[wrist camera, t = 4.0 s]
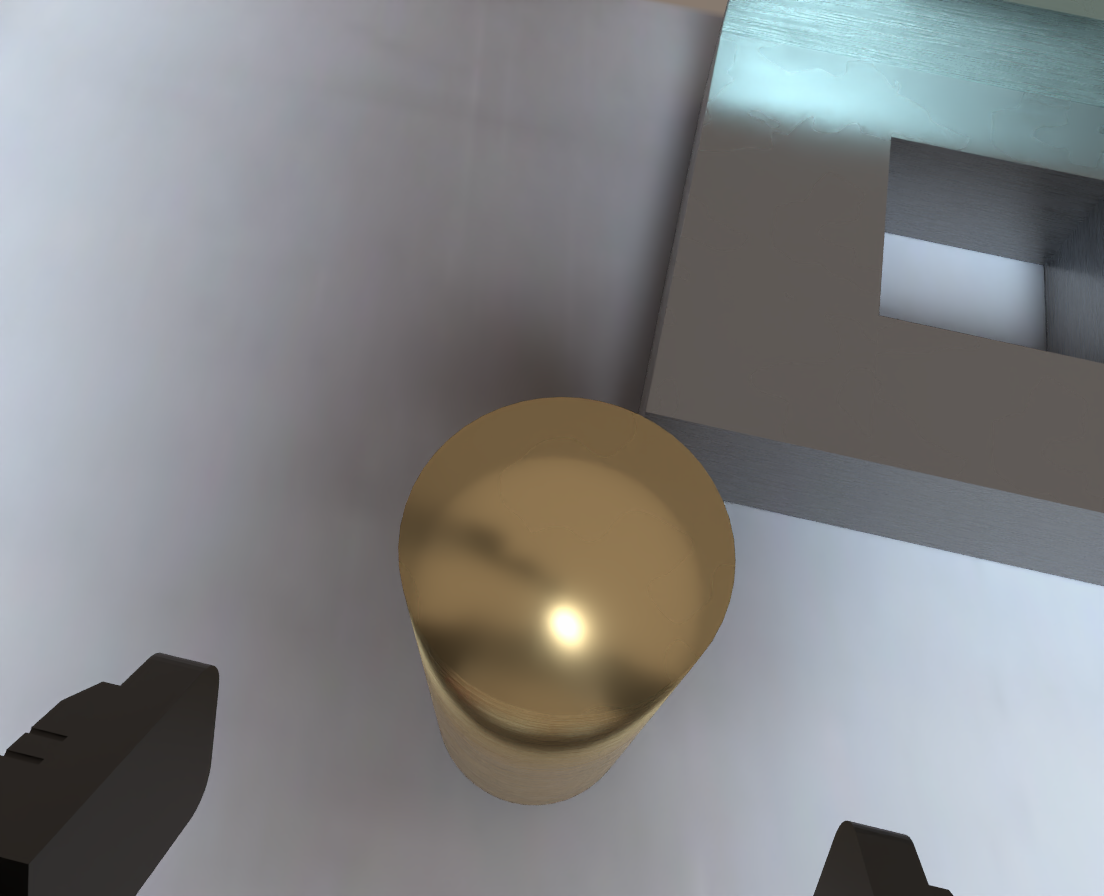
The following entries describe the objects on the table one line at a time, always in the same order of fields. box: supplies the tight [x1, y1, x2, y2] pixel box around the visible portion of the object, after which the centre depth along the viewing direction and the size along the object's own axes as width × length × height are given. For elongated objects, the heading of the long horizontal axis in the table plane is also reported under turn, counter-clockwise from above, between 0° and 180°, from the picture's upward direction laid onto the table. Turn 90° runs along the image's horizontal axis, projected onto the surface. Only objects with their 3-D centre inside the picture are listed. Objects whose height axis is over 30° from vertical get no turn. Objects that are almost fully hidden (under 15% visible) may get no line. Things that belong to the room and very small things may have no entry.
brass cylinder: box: [398, 397, 735, 805], centre depth 17 cm, size 4×4×10 cm
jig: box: [638, 0, 1104, 586], centre depth 24 cm, size 16×14×6 cm
